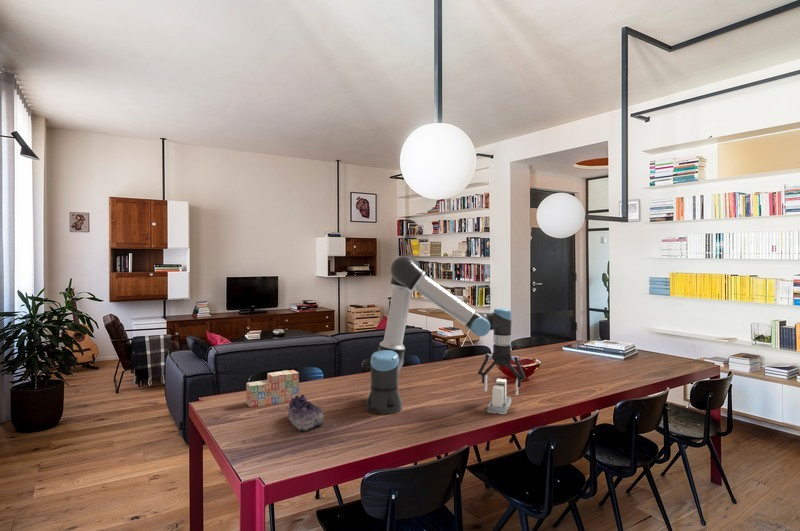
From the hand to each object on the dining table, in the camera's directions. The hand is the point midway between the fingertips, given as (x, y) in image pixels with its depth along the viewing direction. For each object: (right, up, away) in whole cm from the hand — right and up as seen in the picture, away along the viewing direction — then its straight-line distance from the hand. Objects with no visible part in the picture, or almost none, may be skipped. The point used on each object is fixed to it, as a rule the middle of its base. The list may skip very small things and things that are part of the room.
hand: (501, 392), depth 205 cm
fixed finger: (-3, -5, -8) cm, 10 cm away
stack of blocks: (-100, -4, 0) cm, 100 cm away
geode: (-82, -5, -24) cm, 85 cm away
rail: (-1, -5, -3) cm, 6 cm away
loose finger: (0, -5, 0) cm, 5 cm away
